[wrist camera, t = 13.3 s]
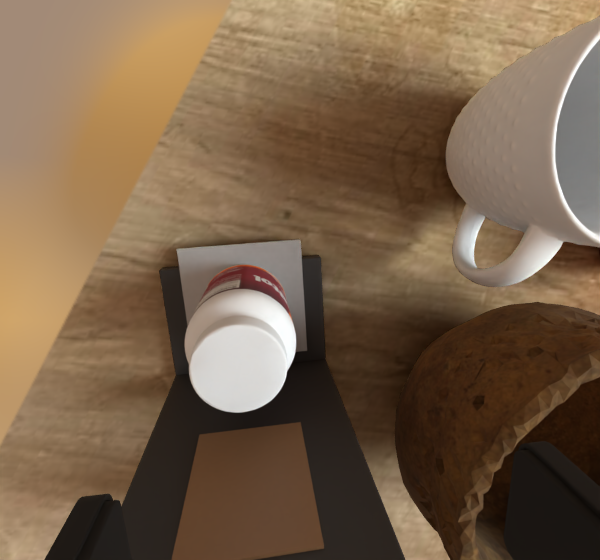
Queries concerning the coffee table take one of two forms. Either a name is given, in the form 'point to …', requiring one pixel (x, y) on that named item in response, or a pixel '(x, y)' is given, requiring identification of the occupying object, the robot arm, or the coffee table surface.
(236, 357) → the pill bottle
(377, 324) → the coffee table surface
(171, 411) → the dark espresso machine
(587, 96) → the mug
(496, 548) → the bowl
